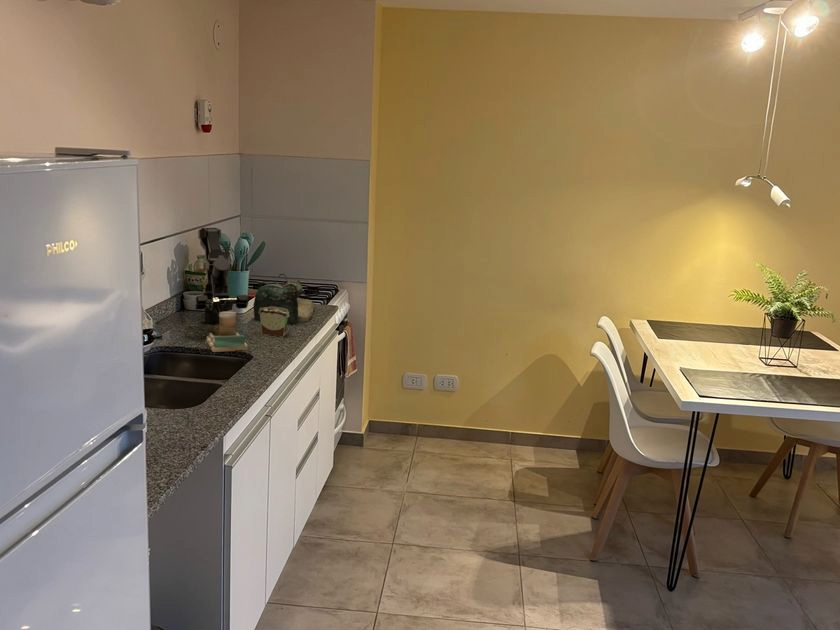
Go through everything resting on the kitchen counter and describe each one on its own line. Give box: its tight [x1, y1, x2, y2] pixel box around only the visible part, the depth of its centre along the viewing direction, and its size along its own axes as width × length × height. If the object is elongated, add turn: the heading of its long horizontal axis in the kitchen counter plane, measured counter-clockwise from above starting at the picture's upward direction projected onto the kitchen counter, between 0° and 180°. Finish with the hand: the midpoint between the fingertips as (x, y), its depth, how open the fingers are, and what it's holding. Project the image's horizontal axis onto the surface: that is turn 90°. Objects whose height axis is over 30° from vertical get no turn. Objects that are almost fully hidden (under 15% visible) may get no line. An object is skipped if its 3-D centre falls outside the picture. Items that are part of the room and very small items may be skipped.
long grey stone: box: [297, 297, 315, 323], centre depth 331 cm, size 35×5×10 cm
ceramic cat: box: [252, 273, 304, 325], centre depth 311 cm, size 20×6×20 cm, turn 76°
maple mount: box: [206, 331, 249, 353], centre depth 274 cm, size 16×12×5 cm
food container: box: [258, 306, 289, 338], centre depth 292 cm, size 12×6×10 cm, turn 71°
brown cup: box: [218, 311, 237, 336], centre depth 271 cm, size 6×6×10 cm
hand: (224, 321), depth 278 cm, fingers closed
